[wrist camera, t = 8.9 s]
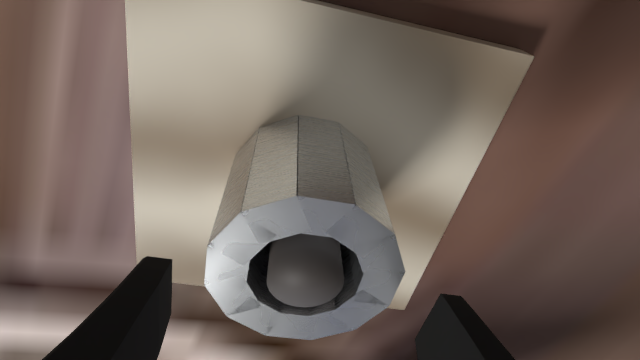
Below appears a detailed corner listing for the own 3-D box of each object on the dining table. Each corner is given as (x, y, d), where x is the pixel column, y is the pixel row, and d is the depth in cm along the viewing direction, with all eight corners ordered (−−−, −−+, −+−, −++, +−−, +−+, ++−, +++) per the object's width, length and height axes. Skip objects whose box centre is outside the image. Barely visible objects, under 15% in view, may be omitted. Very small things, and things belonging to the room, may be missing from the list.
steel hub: (353, 243, 17) (370, 345, 12) (227, 225, 16) (200, 329, 12) (391, 132, 14) (431, 216, 10) (241, 103, 13) (212, 182, 9)
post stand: (399, 294, 20) (432, 413, 15) (145, 262, 18) (84, 387, 13) (519, 49, 13) (651, 115, 8) (136, -44, 11) (5, -30, 6)
